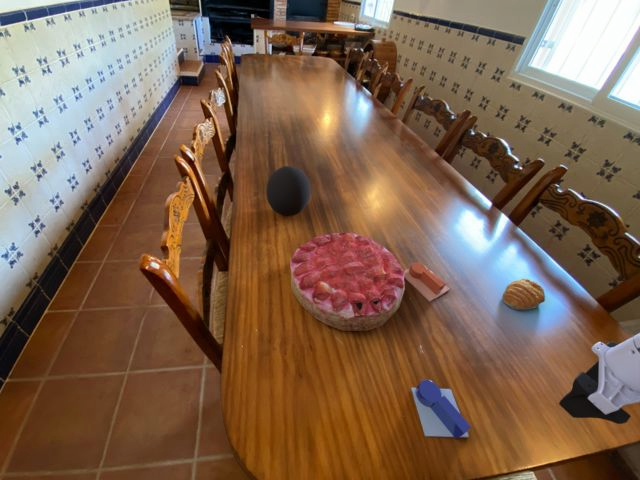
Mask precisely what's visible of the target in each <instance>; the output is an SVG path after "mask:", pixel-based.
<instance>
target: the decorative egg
mask: <svg viewBox="0 0 640 480" xmlns="http://www.w3.org/2000/svg"><path fill="white" fill-rule="evenodd" d="M311 190H312V189H311V183H310V180H309V178H308V176H307V175H306V173H305V172H304V171H303V170H301V169H300V168H299V167H296V166H295V165H294V166H292V165H285V166H282V167H279V168H277V169H276V170H275V171H274V172H273V173H272V174H271V175H270V176H269V180H268V181H267V185H266V199H267V202H268V204H269V206H270V208H271V209H272V210H273V211H274V212H275V213H276V214H278V215H280V216H283V217H293V216H297V215H299V214H300V213H302V212H303V211H304V210H305V208H306V207H307V206H308V204H309V202H310V199H311V194H312V193H311V192H312V191H311Z"/></svg>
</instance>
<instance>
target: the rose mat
mask: <svg viewBox="0 0 640 480" xmlns="http://www.w3.org/2000/svg"><path fill="white" fill-rule="evenodd" d="M409 269H410V267H409V268H407V269H405V270H404V280H406V281H407V283H408V284H410V285H411V286H412V287H413V288H414V289H415V290H416V291H417V292H418V293H419V294H420V295H421V296H422V297H423V298H424V299H425V300H427V301H428V303H431V302H433V301H434V300H436V299H437V298H439V297H441V296H442V295H444V294H446V293H447V292H449V291H450V288H449V287H448V286H446V285H445V286H444V288H443V289H442V291H441V292H440V293H438V294H437V295H435V294H434V293H433V292H432V291H431V290H430V289H429V288H428V287H427V286H426V285H425V284H424V283H422V282H421V281H420V280H419V279H416V278H414V277H412V276H411V275H410V274H409Z"/></svg>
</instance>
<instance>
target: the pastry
mask: <svg viewBox="0 0 640 480" xmlns="http://www.w3.org/2000/svg"><path fill="white" fill-rule="evenodd" d="M502 301H503V302H504V303H505V304H506V305H507V306H509V307H510V308H512V309H514V310H516V311H518V310H519V311H521V310H531V309H535V308H537V307H538V306H539V305H541V304H543V303H545V302H546V295H545V290H544V288H543V287H542V286H541V285H540V284H539V283H538V282H536V281H532V280H530V279H529V278H521V279H518V280H514V281H512V282H510V283H509V284H508V285H507V286H506V288H505V291H503V294H502Z"/></svg>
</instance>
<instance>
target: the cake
mask: <svg viewBox="0 0 640 480" xmlns="http://www.w3.org/2000/svg"><path fill="white" fill-rule="evenodd" d="M289 265H290V286H291V290H292V292H293V294H294V297H295V298H296V299H297V300H298V302H299V303H300V305H301V307H303V308H304V309H305V310H306V311H307V312H308V313H309V314H311V316H313V317H314V318H315V319H317V320H318V321H319V322H321V323H322V324H325V325H327V326H330V327H332V328H335V329H338V330H341V331H350V332H351V331H352V332H353V331H354V332H363V331H364V332H365V331H370V330H373V329H376V328H378V327H381V326H383V325H384V324H385V323H386V322H387V321H388V320H389V319H390V318H391V317H392V316H393V315H394V314H395V313H396V312H397V311H398V310H399V308H400V306H401V304H402V303H401V302H402V299H403V296H404V293H405V290H406V288H405V287H406V286H405V278H404V271H405V270H404V268H403V267H402V265H401V264H400V263H399V261H398V260H397V258H396V257H395V255H394V253H393V252H392V251H389V250H388V249H386V247H384V246H383V245H381V244H379V243H377V242H376V241H374V240H373V239H372V238H371V237H370V236H366V235H365V236H364V235H359V234H356V233H353V232H342V233H339V232H335V231H334V232H332V233H330V234H319V235H317V236H314V237H313V238H312V239H310V240H309V241H308V242H307V243H304V244H300V245H299V246H298V247H297V248H296V250H295V252H294V254H293V256H292V257H291V259H290V260H289Z"/></svg>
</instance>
